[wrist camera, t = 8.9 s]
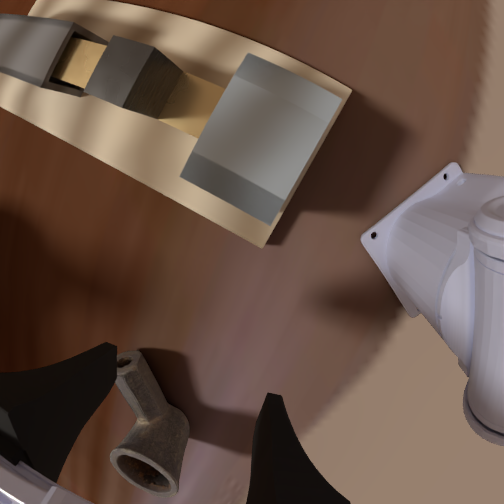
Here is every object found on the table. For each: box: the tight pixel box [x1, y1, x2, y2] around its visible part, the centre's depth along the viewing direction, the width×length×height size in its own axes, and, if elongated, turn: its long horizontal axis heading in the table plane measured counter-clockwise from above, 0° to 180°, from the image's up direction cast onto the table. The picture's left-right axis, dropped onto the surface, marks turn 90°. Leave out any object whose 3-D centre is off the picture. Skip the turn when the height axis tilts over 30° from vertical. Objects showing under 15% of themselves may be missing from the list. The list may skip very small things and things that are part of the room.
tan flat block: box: [51, 35, 226, 138], centre depth 14 cm, size 20×3×7 cm, turn 61°
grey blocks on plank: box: [0, 0, 352, 248], centre depth 16 cm, size 31×12×6 cm, turn 62°
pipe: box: [110, 350, 190, 497], centre depth 23 cm, size 6×13×8 cm, turn 14°
